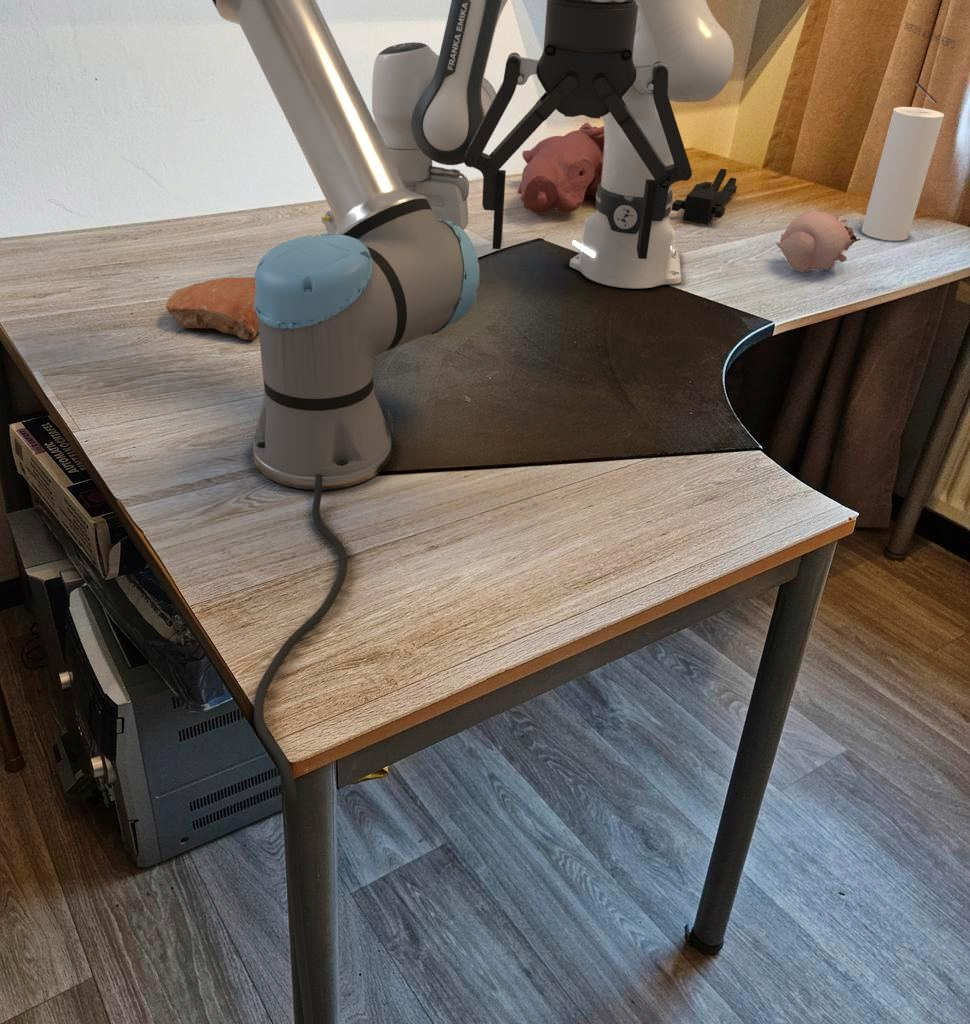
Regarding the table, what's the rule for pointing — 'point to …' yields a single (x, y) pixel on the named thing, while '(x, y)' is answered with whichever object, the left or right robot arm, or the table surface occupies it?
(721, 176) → the toy
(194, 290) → the ceramic shard
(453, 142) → the right robot arm
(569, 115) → the left robot arm
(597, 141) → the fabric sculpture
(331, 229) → the electric motor
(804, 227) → the toy
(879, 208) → the tall white tube
